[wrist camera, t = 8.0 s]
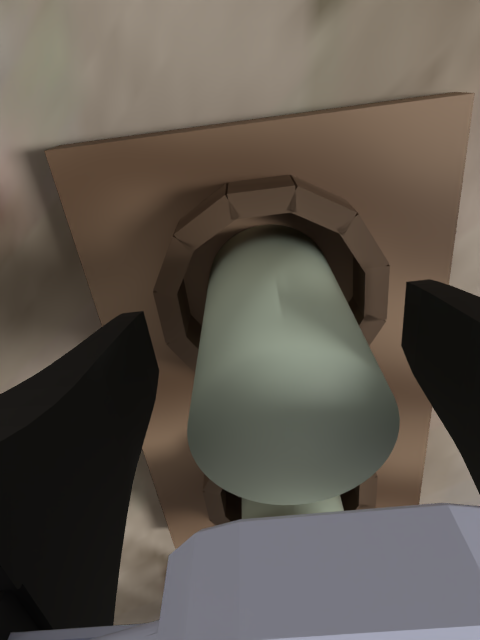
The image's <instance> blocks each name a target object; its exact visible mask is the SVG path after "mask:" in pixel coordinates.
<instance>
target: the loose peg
mask: <svg viewBox="0 0 480 640" xmlns="http://www.w3.org/2000/svg"><path fill="white" fill-rule="evenodd" d="M399 425H400V417H399V410H398V406H397V403H396V400H395V397H394V395H393V393H392V391H391V389H390V387H389V385H388V383H387V381H386V379H385V377H384V375H383V373H382V371H381V369H380V367H379V365H378V363H377V361H376V359H375V357H374V355H373V353H372V351H371V349H370V347H369V345H368V343H367V341H366V339H365V337H364V335H363V333H362V331H361V329H360V327H359V325H358V323H357V321H356V319H355V317H354V315H353V313H352V311H351V309H350V307H349V305H348V303H347V301H346V299H345V297H344V295H343V293H342V291H341V289H340V286H339V284H338V282H337V280H336V278H335V276H334V274H333V272H332V270H331V268H330V266H329V264H328V262H327V260H326V258H325V256H324V254H323V253H322V251H321V249H320V248H319V247H318V245H317V244H316V243H315V242H314V241H313V240H312V239H311V238H310V237H308V236H307V235H306V234H304V233H302V232H301V231H299V230H297V229H294V228H291V227H288V226H284V225H276V224H267V225H259V226H255V227H251V228H248V229H246V230H244V231H241V232H240V233H238V234H236V235H235V236H233V237H232V238H231V239H229V240H228V241H227V242H226V243H225V244H224V245H223V246H222V248H221V249H220V250H219V252H218V253H217V255H216V257H215V259H214V261H213V264H212V266H211V271H210V276H209V283H208V289H207V296H206V303H205V310H204V316H203V323H202V330H201V337H200V343H199V350H198V357H197V364H196V370H195V377H194V384H193V391H192V397H191V404H190V411H189V418H188V426H187V437H188V445H189V448H190V451H191V454H192V456H193V458H194V460H195V462H196V464H197V465H198V466H199V468H200V469H201V471H202V472H203V473H204V474H205V475H206V476H207V477H208V478H209V479H210V480H211V481H213V482H214V483H215V484H216V485H218V486H219V487H221V488H223V489H224V490H226V491H228V492H230V493H232V494H234V495H236V496H239V497H242V498H244V499H247V500H251V501H255V502H259V503H265V504H272V505H300V504H309V503H314V502H319V501H323V500H326V499H330V498H333V497H336V496H338V495H341V494H343V493H345V492H347V491H349V490H351V489H353V488H355V487H357V486H358V485H360V484H361V483H363V482H365V481H366V480H367V479H368V478H370V477H371V476H372V475H373V474H374V473H375V472H376V471H377V470H378V469H379V468H380V467H381V466H382V465H383V464H384V463H385V461H386V460H387V459H388V457H389V455H390V454H391V452H392V450H393V448H394V446H395V443H396V441H397V438H398V433H399Z"/></svg>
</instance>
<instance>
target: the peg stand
mask: <svg viewBox="0 0 480 640" xmlns="http://www.w3.org/2000/svg"><path fill="white" fill-rule="evenodd" d="M474 94H475V93H462V92H452V93H445V94H437V95H430V96H423V97H415V98H408V99H400V100H393V101H385V102H378V103H371V104H363V105H356V106H348V107H341V108H334V109H326V110H319V111H311V112H304V113H296V114H289V115H282V116H274V117H267V118H259V119H252V120H245V121H237V122H230V123H222V124H215V125H208V126H200V127H193V128H185V129H178V130H170V131H163V132H156V133H148V134H141V135H133V136H126V137H119V138H111V139H104V140H96V141H89V142H82V143H74V144H67V145H60V146H57V147H54V148H51V149H48V150H46V151H44V152H45V155H46V158H47V161H48V164H49V167H50V170H51V173H52V176H53V179H54V182H55V185H56V188H57V191H58V194H59V197H60V200H61V203H62V206H63V209H64V212H65V215H66V218H67V221H68V224H69V227H70V230H71V234H72V237H73V240H74V243H75V246H76V249H77V252H78V255H79V258H80V261H81V264H82V267H83V270H84V273H85V276H86V279H87V282H88V285H89V288H90V291H91V294H92V297H93V300H94V303H95V306H96V309H97V312H98V315H99V319H100V322H101V325H102V327H103V326H104V325H105V324H107V323H108V322H109V321H111V320H112V319H114V318H115V317H117V316H118V315H120V314H122V313H130V312H139V311H144V315H145V319H146V323H147V326H148V330H149V334H150V337H151V341H152V345H153V349H154V352H155V356H156V360H157V364H158V367H159V378H158V387H157V394H156V400H155V404H154V408H153V411H152V415H151V418H150V422H149V426H148V429H147V432H146V436H145V439H144V443H143V446H142V449H143V452H144V455H145V458H146V461H147V464H148V467H149V470H150V473H151V476H152V479H153V482H154V485H155V488H156V492H157V495H158V498H159V501H160V504H161V507H162V510H163V513H164V516H165V519H166V522H167V525H168V528H169V531H170V534H171V537H172V540H173V543H174V546H175V548H178V547H180V546H181V545H182V544H183V543H184V542H185V541H187V540H188V539H189V538H190V537H191V536H192V535H194V534H195V533H196V532H198V531H200V530H201V529H205V528H209V527H213V526H216V525H220V524H224V523H228V522H232V521H236V520H239V519H250V518H263V517H275V516H287V515H300V514H312V513H324V512H336V511H349V510H361V509H373V508H386V507H398V506H410V505H419V500H420V493H421V485H422V478H423V470H424V463H425V456H426V448H427V441H428V434H429V426H430V419H431V411H432V405H431V403H430V402H429V400H428V399H427V397H426V395H425V394H424V392H423V390H422V389H421V387H420V385H419V384H418V382H417V380H416V379H415V377H414V375H413V373H412V371H411V369H410V366H409V364H408V362H407V359H406V357H405V354H404V352H403V349H402V346H401V342H402V330H403V317H404V305H405V292H406V282H409V281H418V280H427V279H431V280H435V281H438V282H442V283H444V284H447V285H449V278H450V271H451V264H452V256H453V249H454V241H455V234H456V227H457V219H458V212H459V205H460V197H461V190H462V182H463V175H464V168H465V160H466V153H467V145H468V138H469V131H470V123H471V116H472V108H473V101H474ZM267 224H276V225H284V226H288V227H291V228H294V229H297V230H299V231H301V232H302V233H304V234H306V235H307V236H308V237H310V238H311V239H312V240H313V241H314V242H315V243H316V244H317V245H318V247H319V248H320V249H321V251H322V253H323V254H324V256H325V258H326V260H327V262H328V264H329V266H330V268H331V270H332V272H333V274H334V276H335V278H336V280H337V282H338V284H339V286H340V289H341V291H342V293H343V295H344V297H345V299H346V301H347V303H348V305H349V307H350V309H351V311H352V313H353V315H354V317H355V319H356V321H357V323H358V325H359V327H360V329H361V331H362V333H363V335H364V337H365V339H366V341H367V343H368V345H369V347H370V349H371V351H372V353H373V355H374V357H375V359H376V361H377V363H378V365H379V367H380V369H381V371H382V373H383V375H384V377H385V379H386V381H387V383H388V385H389V387H390V389H391V391H392V393H393V395H394V397H395V400H396V403H397V406H398V410H399V417H400V425H399V433H398V438H397V441H396V443H395V446H394V448H393V450H392V452H391V454H390V455H389V457H388V459H387V460H386V461H385V463H384V464H383V465H382V466H381V467H380V468H379V469H378V470H377V471H376V472H375V473H374V474H373V475H372V476H371V477H370V478H368V479H367V480H366V481H365V482H363V483H361V484H360V485H358V486H357V487H355V488H353V489H351V490H349V491H347V492H345V493H343V494H341V495H338V496H336V497H333V498H330V499H326V500H323V501H319V502H314V503H309V504H300V505H272V504H265V503H259V502H255V501H251V500H247V499H244V498H242V497H239V496H236V495H234V494H232V493H230V492H228V491H226V490H224V489H223V488H221V487H219V486H218V485H216V484H215V483H214V482H213V481H211V480H210V479H209V478H208V477H207V476H206V475H205V474H204V473H203V472H202V471H201V469H200V468H199V466H198V465H197V464H196V462H195V460H194V458H193V456H192V454H191V451H190V448H189V445H188V437H187V426H188V418H189V411H190V404H191V397H192V391H193V384H194V377H195V370H196V364H197V357H198V350H199V343H200V337H201V330H202V323H203V316H204V310H205V303H206V296H207V289H208V283H209V276H210V271H211V266H212V264H213V261H214V259H215V257H216V255H217V253H218V252H219V250H220V249H221V248H222V246H223V245H224V244H225V243H226V242H227V241H228V240H229V239H231V238H232V237H233V236H235V235H236V234H238V233H240V232H241V231H244V230H246V229H248V228H251V227H255V226H259V225H267Z"/></svg>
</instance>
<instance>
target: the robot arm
mask: <svg viewBox="0 0 480 640" xmlns="http://www.w3.org/2000/svg"><path fill="white" fill-rule="evenodd" d="M401 346H402V349H403V352H404V354H405V357H406V359H407V362H408V364H409V366H410V369H411V371H412V373H413V375H414V377H415V379H416V380H417V382H418V384H419V385H420V387H421V389H422V390H423V392H424V394H425V395H426V397H427V399H428V400H429V402H430V403H431V405H432V407H433V408H434V410H435V411H436V413H437V415H438V416H439V418H440V420H441V421H442V423H443V424H444V426H445V428H446V429H447V431H448V432H449V434H450V436H451V437H452V439H453V441H454V442H455V444H456V446H457V448H458V450H459V451H460V453H461V455H462V457H463V459H464V462H465V464H466V466H467V468H468V470H469V472H470V474H471V476H472V479H473V481H474V483H475V485H476V487H477V489H478V492H479V494H480V297H478V296H476V295H473V294H471V293H468V292H466V291H463V290H460V289H458V288H455V287H453V286H450V285H447V284H444V283H442V282H438V281H435V280H431V279H427V280H418V281H409V282H406V292H405V305H404V317H403V330H402V342H401ZM158 378H159V367H158V364H157V360H156V356H155V352H154V349H153V345H152V341H151V337H150V334H149V330H148V326H147V323H146V319H145V315H144V311H139V312H130V313H122V314H120V315H118V316H117V317H115V318H114V319H112V320H111V321H109V322H108V323H107V324H105V325H104V326H103V327H101V328H100V329H99V330H97V331H96V332H95V333H93V334H92V335H91V336H90V337H88V338H87V339H86V340H84V341H83V342H82V343H80V344H79V345H78V346H76V347H75V348H74V349H72V350H71V351H69V352H68V353H66V354H65V355H64V356H62V357H61V358H59V359H58V360H56V361H55V362H54V363H52V364H51V365H49V366H48V367H46V368H45V369H43V370H42V371H40V372H39V373H37V374H35V375H34V376H32V377H31V378H29V379H27V380H25V381H24V382H22V383H20V384H18V385H17V386H15V387H13V388H11V389H9V390H8V391H6V392H4V393H2V394H0V640H480V506H471V505H460V504H450V503H435V504H422V505H410V506H398V507H386V508H373V509H361V510H349V511H336V512H324V513H312V514H300V515H287V516H275V517H263V518H250V519H239V520H236V521H232V522H228V523H224V524H220V525H216V526H213V527H209V528H205V529H201V530H200V531H198V532H196V533H195V534H194V535H192V536H191V537H190V538H189V539H188V540H187V541H185V542H184V543H183V544H182V545H181V546H180V547H178V548H177V549H176V550H175V551H174V552H173V553H171V554H170V555H169V558H168V565H167V572H166V579H165V586H164V593H163V599H162V606H161V613H160V620H156V621H153V622H149V623H144V624H129V625H115V626H113V621H114V611H115V601H116V593H117V585H118V577H119V569H120V560H121V553H122V546H123V539H124V532H125V526H126V519H127V513H128V507H129V501H130V495H131V489H132V484H133V479H134V475H135V471H136V467H137V463H138V460H139V456H140V453H141V450H142V446H143V443H144V439H145V436H146V432H147V429H148V426H149V422H150V418H151V415H152V411H153V408H154V404H155V400H156V394H157V387H158Z"/></svg>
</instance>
